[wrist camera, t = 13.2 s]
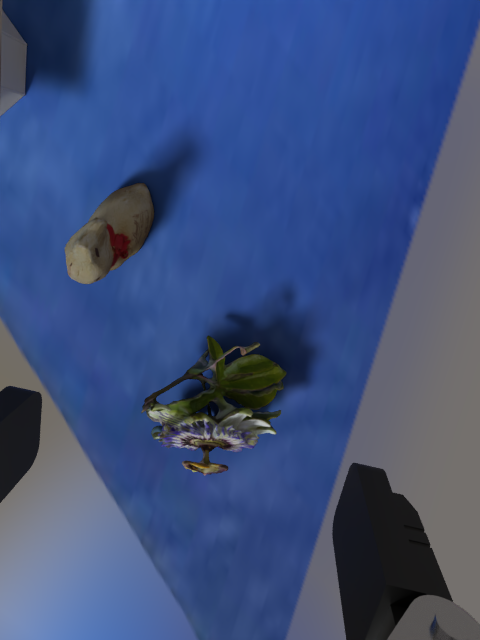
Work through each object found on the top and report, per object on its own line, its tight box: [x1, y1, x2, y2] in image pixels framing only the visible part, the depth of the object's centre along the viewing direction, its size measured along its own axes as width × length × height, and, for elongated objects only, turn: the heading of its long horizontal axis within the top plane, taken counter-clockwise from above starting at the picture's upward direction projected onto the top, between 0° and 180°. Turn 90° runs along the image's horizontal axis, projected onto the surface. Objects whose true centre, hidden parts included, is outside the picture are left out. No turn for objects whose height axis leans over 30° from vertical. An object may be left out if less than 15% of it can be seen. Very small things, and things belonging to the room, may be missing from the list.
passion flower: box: [141, 336, 286, 475], centre depth 41 cm, size 11×11×12 cm
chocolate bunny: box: [65, 183, 154, 284], centre depth 36 cm, size 6×8×10 cm
